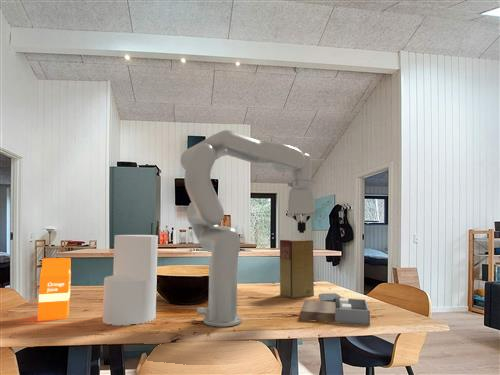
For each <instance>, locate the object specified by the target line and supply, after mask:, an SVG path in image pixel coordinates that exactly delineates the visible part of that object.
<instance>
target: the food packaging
mask: <svg viewBox="0 0 500 375" xmlns="http://www.w3.org/2000/svg"><path fill="white" fill-rule="evenodd" d="M279 281H280V282H279V291H280V292H279V296H281V297H284V296H285V297H284V298H288V299H298V298H299V299H300V298H306V297H313V296H315V292H314V290H315V289H314V288H315V285H314V240H313V239H280V240H279Z"/></svg>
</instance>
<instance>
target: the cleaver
mask: <svg viewBox="0 0 500 375" xmlns="http://www.w3.org/2000/svg"><path fill="white" fill-rule="evenodd" d="M336 298H343V297H342V296H341V295H340V294H338V293H336V292H332V293H328V292H327V293H323V292H322V293H318V299H319V301H327V302H336Z"/></svg>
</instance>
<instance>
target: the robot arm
mask: <svg viewBox="0 0 500 375" xmlns="http://www.w3.org/2000/svg"><path fill="white" fill-rule="evenodd" d="M224 156H229V157H232V158H236V159H240V160H242V161H246V162H248V163H252V164H265V163H266V164H267V163H269V164H270V163H271V167H272V168H273V169H274V170H275V171H277V172H279V173H288V172H290V173H291V182H288V183H287V185H288V186H287V187H291V188H290V189H289V191H288V192H289V193H288V200H287V201H288V202H287V203H288V204H287V212H288V214H287V217H288V218H290V219H293V220H295V221H296V222H297V232H299V234H301V233H302V234H304V233H305V232H307V231H306V230H307V227H306V226H307V225H306V223H307V222H308V221H309V220H310V219H314V218H316V213H315V212H316V202H315V201H316V199H315V191H314V188H312V157H311V155H310V154H308V153H303V151H301V150H300V149H298V148H296V147H294V146H291V145H287V144H285V143H279V142H273V141H267V140H259V139H256V138H253V137H250V136H248V135H244V134H242V133H239V132H236V131H233V130H229V129H226V130H225V129H224V130H221V131H219V132H216V133H214V134H212V135H210V136H209V137H207V138H205V139H203V140H202V141H200V142H198V143H197V144H195V145H193V146H191V147H189V148H186V150H184V151H182V154H181V156H180V165H181V167H182V168H183V169H184V170H185V172H184V187H185V190H186V193H187V195H188V197H189V200H190V201H191V202H189V205H188V206H187V209H186V216H187V220H188V223H189V225H190V227H191V230H192V231H193V233H194V235H195V238H196V240H197V242H198V244H199V245H200V247H201V248H202V249H203V250H205V251H206V252H208V253H211V256H210V259H209V264H208V306H206V307H201V306H200V307H197V308H196V313H197V315H204V316H205V317H203V323H204V324H205V325H207V326H211V327H217V328H218V327H219V328H220V327H223V328H224V327H225V328H226V327H233V326H236V325H239V324H241V323H242V317H241V316H240V315H238V261H239V253H240V248H241V238H240V235H239V233H238V231H237V230H236V229H235V228H233V227H231V226H227V225H219V224H220V223H221V222H222V221H223V220H224V217H225V211H224V207H223V205H222V203H221V200H220V199H219V197H218V195H217V192H216V190H215V188H214V185H213V182H212V180H211V175H212V174H211V172H212V169H213V166H214V164H215V162H216V161H217V159H220V158H221V157H224ZM301 215H303V216H302V221H301Z"/></svg>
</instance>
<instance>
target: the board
mask: <svg viewBox="0 0 500 375" xmlns="http://www.w3.org/2000/svg"><path fill="white" fill-rule="evenodd" d="M335 308H336V302H327V301H322V300H304V302H303V305H302V307H301V309H300V321H305V320H316V321H315V322H319V321H327V322H326V323H333V322H335Z"/></svg>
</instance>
